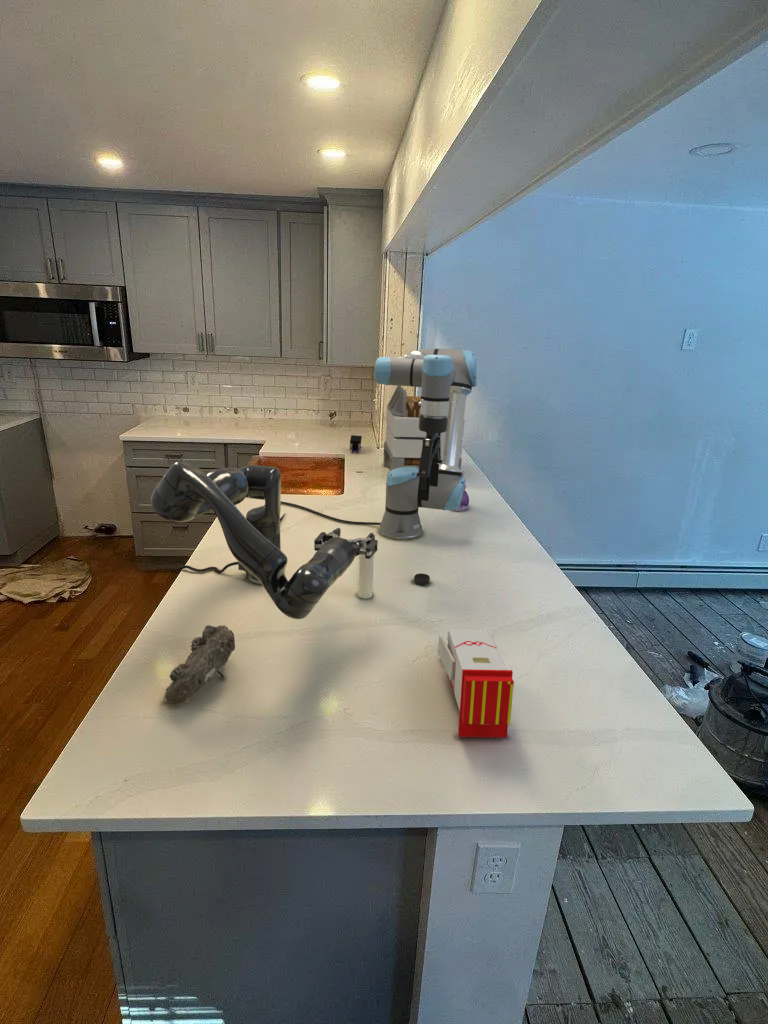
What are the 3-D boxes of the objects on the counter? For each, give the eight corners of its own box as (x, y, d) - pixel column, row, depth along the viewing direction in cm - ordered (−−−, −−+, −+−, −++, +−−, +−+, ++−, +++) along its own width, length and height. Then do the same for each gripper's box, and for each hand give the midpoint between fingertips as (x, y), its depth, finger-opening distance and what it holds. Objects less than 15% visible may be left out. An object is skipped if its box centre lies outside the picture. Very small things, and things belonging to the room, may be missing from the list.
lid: (410, 581, 166) (410, 576, 165) (421, 577, 168) (422, 571, 168) (421, 587, 162) (422, 581, 162) (432, 582, 165) (433, 577, 165)
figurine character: (361, 456, 305) (361, 447, 319) (361, 443, 302) (362, 434, 315) (348, 456, 305) (350, 446, 318) (349, 442, 302) (350, 433, 315)
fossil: (189, 627, 129) (235, 597, 124) (218, 656, 132) (264, 627, 127) (143, 698, 109) (196, 665, 104) (179, 729, 112) (232, 699, 107)
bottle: (375, 594, 157) (377, 539, 151) (366, 600, 154) (369, 543, 148) (363, 590, 159) (365, 535, 153) (354, 595, 156) (356, 539, 150)
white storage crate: (382, 463, 289) (386, 382, 275) (445, 464, 293) (451, 384, 279) (390, 482, 257) (394, 392, 243) (460, 483, 261) (468, 394, 247)
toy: (488, 613, 130) (523, 677, 101) (484, 667, 133) (517, 744, 104) (435, 612, 130) (455, 676, 101) (432, 666, 133) (451, 743, 103)
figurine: (455, 513, 222) (459, 476, 217) (441, 505, 231) (444, 469, 226) (475, 510, 226) (479, 474, 221) (460, 502, 235) (464, 467, 230)
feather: (292, 507, 224) (294, 503, 223) (275, 531, 197) (278, 527, 197) (288, 505, 224) (291, 501, 223) (271, 528, 197) (273, 524, 197)
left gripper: (302, 570, 128) (328, 543, 143) (362, 580, 124) (382, 552, 139) (302, 539, 125) (328, 515, 140) (363, 549, 122) (384, 523, 137)
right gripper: (428, 407, 161) (423, 479, 169) (409, 422, 139) (404, 504, 146) (454, 409, 160) (448, 482, 167) (439, 425, 137) (433, 508, 144)
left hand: (355, 534), depth 140 cm, fingers open, 8 cm apart
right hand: (428, 492), depth 156 cm, fingers open, 13 cm apart
